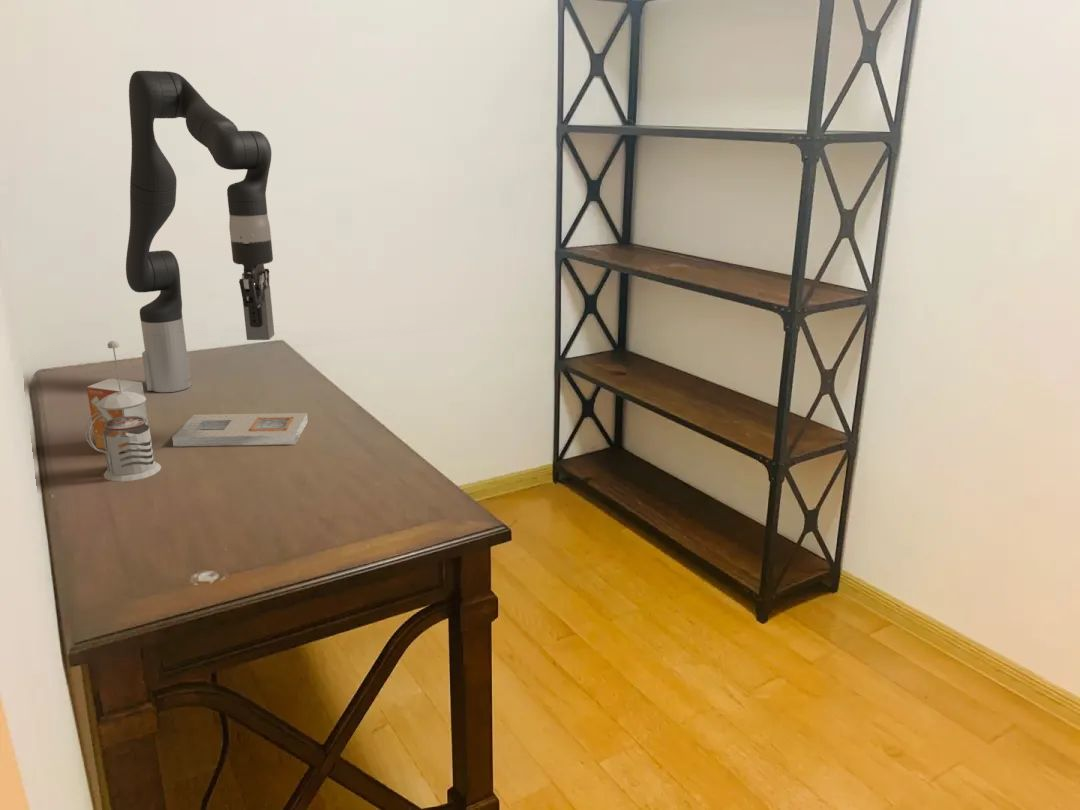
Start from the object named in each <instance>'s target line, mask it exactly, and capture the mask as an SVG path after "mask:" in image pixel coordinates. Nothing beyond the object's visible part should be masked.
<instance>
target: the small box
mask: <svg viewBox="0 0 1080 810" xmlns="http://www.w3.org/2000/svg"><path fill="white" fill-rule="evenodd" d="M119 382H120V389H121V392H134V393H138V394H140V395H143V396H145V393H144V387H143V386H144V385H143V382H141V381H140V382H139V381H132V380H127V379H119ZM86 391H87V392H86V393H87V397H88V398H87V399H88V403H89V404H88V405H89V410H90V416H93V415H94V414H95V413H100V415H103V416H104V421H101V420H100V417H99V418H97V419H96V420H95V422H94V423H93V425H92V428H93V430H92V431H93V435H94V442H95V443H94V444H95V447H96V448H97V449H103V450H106V449H105V443H104V437H103V432H104V430H106V428H105V427H104V424H105V422H107V421H109V420H111V419H114V418H117V417H123V409H122V410H104V409H101V408H99V406H98V405H97V403H98V402H99V401H100V400H101V399H103V398H104V397H106V396H108V395H111V394H113V393H118V392H120V390H119V383H118V378H116V379H115V378H107V379H104V380H101V381H99V382H95V383H92V384H91V385H88V386H86ZM124 415H125V416H126V417H127V416H141V417H144V418H146V420H147V421H146V423H145V424H146V425H148V426H149V421H148V420H149V419H148V415H147V407H146V402H145V403H144V404H142V405H139V406H136V407H133V408H128V409H124ZM98 416H99V414H96V415H95V416H94V417H92V419H91V423H92V422H93V420H94V419H95V418H96V417H98ZM101 419H102V420H103V418H102V416H101ZM117 434H121V435H125V436H134V435H138V434H131V433H126V432H122V431H114V432H112V433H111V434H109V435H108V437H111V436H113V435H117ZM129 443H136V444H140V443H143V442H129ZM125 446H128V445H124V444H121V445H118V447H125ZM107 447H108V446H107ZM135 449H136V450H139V448H135ZM121 452H122V453H128V451H121ZM121 452H120V453H121Z"/></svg>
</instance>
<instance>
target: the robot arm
mask: <svg viewBox="0 0 1080 810" xmlns="http://www.w3.org/2000/svg"><path fill="white" fill-rule="evenodd" d="M128 84H129V85H128V101H129V102H128V103H129V104H128V105H129V118H130V132H131V133H130V134H131V136H130V137H131V160H130V162H131V163H130V180H129V184H130V186H129V207H130V208H129V209H130V210H129V212H130V213H129V214H130V215H129V217H130V218H129V234H128V243H127V249H126V259H125V275H126V281H127V283H128V285H129V288H130V289H131V290H132V291H133V292H136V293H150V292H151V293H152V292H159V295H158V296H157V297H155V298H154V299H153V300H152V301H150V302H149V303H147V304H145V305H144V306H142V307H141V308H140V309H139V319H140V324H141V326H140V327H141V332H142V339H143V345H144V346H143V347H144V351H143V352H142V355H141V357H142V364H143V369H144V371H143V372H144V377H145V384H146V391H149V392H150V391H152V392H155V393H173V392H180V391H183V390H186V389H188V388H190V387H191V385H192V383H191V375H190V367H189V359H188V358H189V357H188V351H187V350H188V349H187V343H186V342H187V341H186V335H185V328H184V327H185V326H184V318H183V302H182V301H183V299H182V288H181V287H182V286H181V285H182V284H181V274H180V267H179V263H178V259H177V257H176V255H175V254H174V253H173V252H172V251H170V250H163V249H162V250H153V251H150V249H151V246H152V245H151V244H152V242H153V240H154V238H155V237H156V235H157V233H158V232H159V231H160V229H161V228H162V226H163V225H164V224H165V223H166V222H167V220H168V218H170V216H171V215H172V213H173V212H174V209H175V205H176V200H177V176H176V172H175V171H174V168H173V167H172V165H171V163H170V162H169V161H168V159H167V157H166V156H165V154H164V153H163V151H162V150H161V148H160V146H159V144H158V142H157V140H156V137H155V130H154V121H155V119H178V118H183V119H185V125H186V129H187V131H188V132H189V135H191V136H192V138H194V139H195V140H196V141H197V142H199V144H201V145H203V146H204V147H205V148H206V149H207V151H209V153H210V154H211V156H212V158H213V160H214V162H215V163H216V165H217V166H219V167H220V168H223V169H226V170H232V171H237V170H239V171H240V170H246V174H245V176H244V179H243V180H241V181H237V182H234V183H232V184H229V185H228V186H227V190H226V194H227V195H226V196H227V197H226V198H227V205H228V206H227V207H228V212H229V214H228V215H229V221H228V222H229V223H228V226H229V229H228V230H229V236H230V245H231V254H232V255H231V256H232V257H231V258H232V262H233V263H234V264H236V265H241V266H243V273H241V278H239V280H238V283H239V287H240V293H241V297H242V304H243V303H244V307H247V309H249V319H250V326H251V327H261V326H262V317H261V301H260V297H261V296H262V290H263V286H264V287H267V286H270V269H269V268H265V265H266V264H270V263H272V262H273V260H274V255H273V246H272V245H273V244H272V235H271V233H272V232H271V225H270V220H269V215H268V206H267V196H266V194H267V193H266V192H267V186H268V181H269V180H268V178H269V173H270V168H271V163H272V147H271V144H270V141H269V140H268V137H266V135H265V134H264V133H262V132H260V131H257V130H239V129H238V126H237V125H236V124H235V123H234V122H233V121H232V120H230V119H229V118H228V117H226V116H225V115H224V114H222V113H221V112H219V111H218V110H217V109H214V107H212V106H211V105H210V104H209V103H208V102H207V101H206V100H205V99H204V98H203V97H202V95H201V94H200V93H199V92H198V91H197V90H196V89H195V87H193V85H192V84H191V83H190V81H188V80H187V79H186V78H185V77H184V76H183V75H181V74H179V73H178V72H174V71H173V72H172V71H166V70H165V71H161V70H160V71H159V70H136V71H134V72H133V73H132V74H131V77H130V79H129V83H128ZM256 290H259V291H258V292H256ZM250 297H253V301H250ZM244 307H243V308H244Z"/></svg>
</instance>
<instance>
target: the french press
mask: <svg viewBox="0 0 1080 810" xmlns="http://www.w3.org/2000/svg"><path fill="white" fill-rule="evenodd" d="M107 348H108V349H112V350H113V357H114V364H115V369H116V376H117V380H118V383H119V390H120V392H118V393H113V394H111V395H108V396H106V397H104V398H103V399H101V400H100V401H99V402H98V403H97V405H98V406H99V408H101V409H104V410H122V409H123V417H117V418H114V419H111V420H109V421H107V422H105V424H104V427H105V428H106V430H104V432H103V437H104V443H105V449H101V448H96V445H95V444H94V443H93V441H92V436H91V433H92V432H91V431H92V428H93V423H94V422H95V420H96V419H97V418H99V417H100V420H101V421H104V416H103V415H100V413H95V414H94V415H93V416H91V415H90V416H91V417H90V418H89V419H88V420H87V422H86V424H85V427H84V428H85V429H84V433H85V439H86V440H87V442H88V443H87V444H89V446H90V447H91V448H93V449H94V450H95V451H98V452H100V453H103V454H104V455H105V461H106V467H107V469H106V471H105V472H104V473H103V477H104V479H106V480H108V481H110V482H133V481H138V480H144V479H146V478H149V477H151V476H154V475H156V474H157V473H159V472H160V471H161V469H162V466H161V464H160V463H159V462H156V460H155V458H154V452H153V443H152V436H151V429H150V426H149V424H148V425H146V424H145V423H146V421H147V420H148V419H147V420H146V418H144V417H141V416H127V417H126V416H125V415H124V409H128V408H133V407H136V406H139V405H142V404H144V403H145V404H146V401H147V397H146V396H145V395H144V396H143V395H140V394H138V393H134V392H121V389H120V382H119V380H120V376H119V370H118V364H117V357H116V356H117V355H116V352H115V349H117V348H120V343H119V342H118V341H117V340H110V341H109V342H108V343H107ZM96 414H99V416H98V417H96V418H95V419H94V420H93V422H92V417H94V416H95V415H96ZM101 416H102V418H103V420H102V419H101ZM90 421H91V424H90V427H89V423H90ZM88 427H89V430H88ZM114 431H122V432H126V433H131V434H138V435H134V436H125V435H121V434H117V435H113V436H111V437H108V435H109V434H111V433H112V432H114ZM129 442H143V443H140V444H136V443H129ZM121 444H124V445H128V446H125V447H118V445H121ZM107 446H108V447H107ZM135 448H138V449H135ZM121 451H128V453H126V452H122V453H121Z"/></svg>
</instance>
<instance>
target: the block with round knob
mask: <svg viewBox="0 0 1080 810" xmlns="http://www.w3.org/2000/svg"><path fill="white" fill-rule="evenodd" d="M258 291H259V290H256V292H258ZM271 296H272V293H271V286H270V285H269V286H267V287H264V286H263V290H262V296H261V297H260V301H261V317H262V326H261V327H251V326H250V319H249V309H247V307H244V303H243V302H242V306H243V315H244V316H243V317H244V326H245V334H246V340H247V341H270V340H271V339H272V338H273V337H274V336H275V327H274V326H275V325H274V316H273V305H272V297H271ZM250 301H253V297H250Z"/></svg>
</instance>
